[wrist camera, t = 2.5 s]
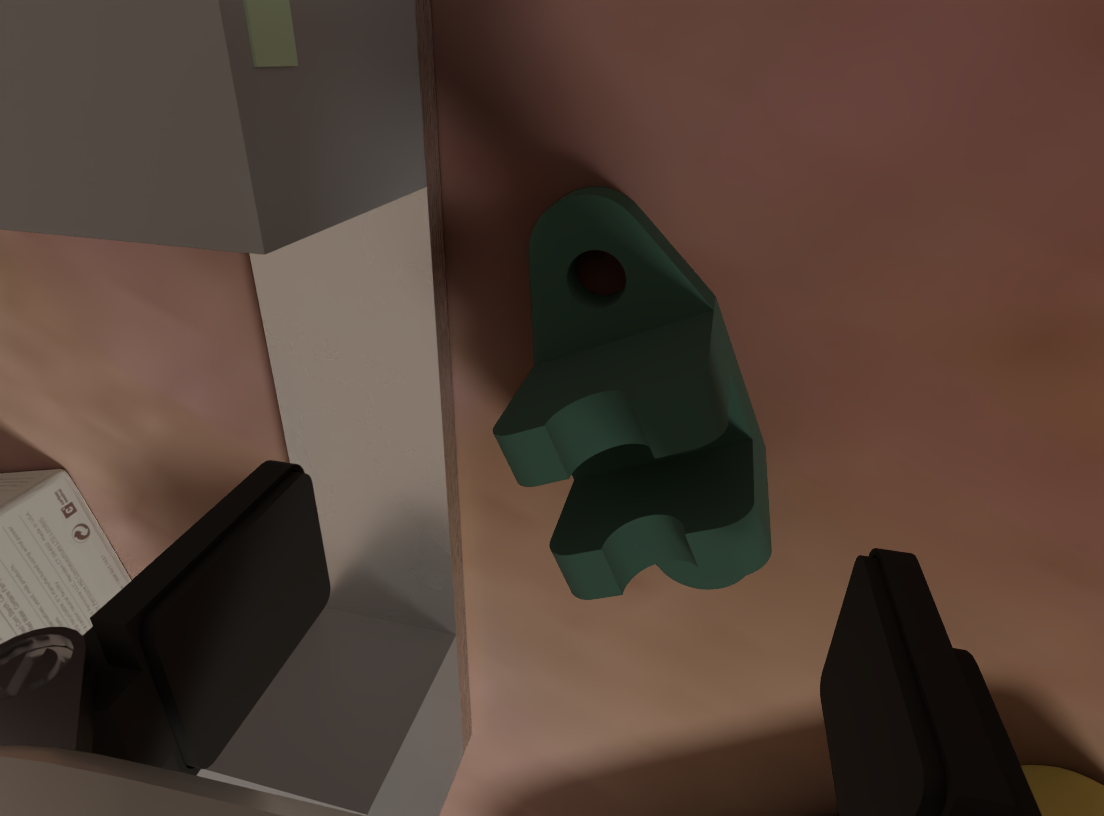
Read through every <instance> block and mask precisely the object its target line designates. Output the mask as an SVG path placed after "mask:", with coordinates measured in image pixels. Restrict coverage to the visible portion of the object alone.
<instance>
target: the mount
mask: <svg viewBox="0 0 1104 816" xmlns="http://www.w3.org/2000/svg"><path fill="white" fill-rule="evenodd" d="M590 250H600V251H605V252H607V253H609V254H611V255H613V256H614V257H615V258H616V259H617V260H618V261H619V262H620V263H621V265H622V266H623V268H624V271H625V275H626V286H625V288H623V289H622V290H621V291H619V292H618V293H615V294H612V295H598V294H595V293H592V292H591V291H589V290H588V289H586V288H585V287H584V286H583V285H582V283H581V282H580V280H579V278H578V275H577V271H576V262H577V258H578V255H580V254H581V253H583V252H586V251H590ZM529 271H530V289H531V307H532V325H533V343H534V361H535V366H534V367H533V369H532V370H531V372H530V373H529V375H528V376H527V378H526V379H525V381H524V382H523V384H522V385H521V387H520V388H519V390H518V391H517V393H516V394H515V396H514V397H513V399H512V400H511V402H510V403H509V405H508V406H507V408H506V409H505V411H504V412H503V414H502V415H501V417H500V418H499V420H498V421H497V423H496V424H495V426H494V428H493V433H494V435H495V437H496V439H497V441H498V443H499V445H500V448H501V450H502V452H503V454H504V456H505V458H506V460H507V462H508V464H509V466H510V468H511V470H512V472H513V474H514V476H515V478H516V480H517V482H518V484H519V485H521V486H525V487H533V486H539V485H543V484H548V483H552V482H556V481H561V480H565V479H569V478H570V476H571V474H572V476H573V478H574V482H573V485H572V487H571V490H570V492H569V495H568V497H567V500H566V502H565V505H564V508H563V510H562V513H561V515H560V518H559V520H558V523H557V525H556V528H555V530H554V533H553V535H552V538H551V541H550V549H551V551H552V553H553V555H554V557H555V559H556V561H557V563H558V565H559V567H560V569H561V572H562V574H563V576H564V578H565V580H566V582H567V584H568V586H569V588H570V590H571V592H572V594H573V595H574V596H575V597H577V598H579V599H584V600H591V599H598V598H605V597H611V596H618V595H623V591H624V589H625V587H626V585H627V584H628V583H629V581H630V580H631V579H632V578H633V577H634V576H635V575H636V574H638V573H639V572H640V571H642V570H644V569H645V568H647V567H649V566H651V565H654V564H656V565H657V566H658V567H659V568H660V569H661V570H662V571H663V572H664V573H665V574H666V575H667V576H669V577H670V578H672V579H673V580H675V581H677V582H678V583H681V584H683V585H686V586H689V587H692V588H697V589H719V588H724V587H727V586H730V585H732V584H735V583H736V582H738V581H740V580H741V579H742V578H744V577H745V576H746V575H749V574H751V573H753V572H755V571H757V570H759V569H760V568H761V567H763V566H764V565H765V564H766V563H767V561H768V560H769V558H770V556H771V551H772V549H771V532H770V516H769V499H768V482H767V465H766V448H765V445H764V442H763V438H762V435H761V432H760V429H759V426H758V423H757V420H756V417H755V414H754V411H753V408H752V405H751V402H750V399H749V396H748V393H747V390H746V387H745V384H744V381H743V378H742V375H741V372H740V369H739V366H738V363H737V360H736V357H735V354H734V351H733V348H732V345H731V342H730V339H729V336H728V333H727V330H726V327H725V323H724V320H723V317H722V314H721V311H720V308H719V305H718V302H717V299H716V296H715V295H714V294H713V293H712V291H711V290H710V289H709V288H708V287H707V286H706V284H705V283H704V282H703V281H702V280H701V279H700V277H699V276H698V275H697V274H696V273H695V272H694V270H693V269H692V268H691V267H690V266H689V265H688V263H687V262H686V261H685V260H684V259H683V258H682V256H681V255H680V254H679V253H678V252H677V251H676V249H675V248H674V247H673V246H672V245H671V244H670V242H669V241H668V240H667V239H666V238H665V237H664V235H663V234H662V233H661V232H660V231H659V230H658V228H657V227H656V226H655V225H654V224H653V223H652V221H651V220H650V219H649V218H648V217H647V216H646V214H645V213H644V212H643V211H642V210H641V209H640V207H639V206H638V205H637V204H636V203H635V202H634V201H632V200H631V199H630V198H629V197H627V196H626V195H624V194H622V193H620V192H618V191H616V190H613V189H609V188H605V187H585V188H581V189H577V190H575V191H572V192H570V193H568V194H567V195H565V196H564V197H562V198H561V199H560V200H558V201H557V202H556V203H555V204H553V205H552V206H551V207H550V208H548V209H547V210H546V211H545V212H544V213H543V214H542V216H541V217H540V218H539V220H538V221H537V223H536V225H535V227H534V229H533V231H532V234H531V238H530V242H529Z"/></svg>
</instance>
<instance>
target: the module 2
mask: <svg viewBox="0 0 1104 816" xmlns="http://www.w3.org/2000/svg"><path fill="white" fill-rule="evenodd" d="M463 755H464V749H463V734H462V719H461V704H460V688H459V673H458V658H457V642H456V635H453V634H448V633H444V632H439V631H434V630H430V629H425V628H420V627H416V626H411V625H406V624H402V623H397V622H392V621H388V620H383V619H378V618H374V617H369V616H364V615H360V614H355V613H350V612H346V611H341V610H336V609H332V608H327V607H325V608H324V609H323V611H322V612H321V613H320V615H319V616H318V618H317V619H316V620H315V622H314V623H313V625H312V626H311V627H310V629H309V630H308V632H307V633H306V634H305V636H304V637H303V639H302V640H301V641H300V643H299V644H298V646H297V647H296V648H295V650H294V651H293V653H292V654H291V655H290V657H289V658H288V660H287V661H286V662H285V664H284V665H283V667H282V668H281V669H280V671H279V672H278V674H277V675H276V676H275V678H274V679H273V681H272V682H271V684H270V685H269V686H268V688H267V689H266V691H265V692H264V693H263V695H262V696H261V698H260V699H259V700H258V702H257V703H256V705H255V706H254V707H253V709H252V710H251V712H250V713H249V714H248V716H247V717H246V719H245V720H244V721H243V723H242V724H241V726H240V727H239V728H238V730H237V731H236V733H235V734H234V735H233V737H232V738H231V740H230V741H229V742H228V744H227V745H226V747H225V748H224V749H223V751H222V752H221V754H220V755H219V756H218V758H217V759H216V761H215V762H214V763H213V764H212V765H211V766H210V767H208V768H206V769H201V770H200V771H199V773H198V774H197V776H200V777H204V778H208V779H212V780H216V781H221V782H225V783H229V784H233V785H238V786H242V787H246V788H250V789H254V790H259V791H263V792H267V793H271V794H275V795H280V796H284V797H288V798H292V799H297V800H301V801H305V802H309V803H313V804H318V805H322V806H326V807H330V808H334V809H339V810H343V811H347V812H351V813H355V814H359V815H363V816H439V815H440V812H441V810H442V807H443V805H444V802H445V800H446V797H447V795H448V792H449V790H450V787H451V785H452V782H453V780H454V777H455V775H456V772H457V770H458V767H459V765H460V762H461V760H462V757H463Z"/></svg>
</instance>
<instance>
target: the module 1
mask: <svg viewBox="0 0 1104 816" xmlns="http://www.w3.org/2000/svg"><path fill="white" fill-rule="evenodd" d="M425 187H427V183H426V168H425V152H424V137H423V122H422V106H421V91H420V76H419V60H418V45H417V30H416V14H415V0H0V229H1V230H12V231H22V232H33V233H43V234H54V235H64V236H74V237H85V238H95V239H106V240H116V241H127V242H137V243H148V244H158V245H168V246H179V247H189V248H200V249H210V250H221V251H231V252H242V253H252V254H262V255H265V254H268V253H270V252H273V251H275V250H277V249H280V248H282V247H284V246H287V245H289V244H292V243H294V242H296V241H299V240H301V239H304V238H306V237H308V236H311V235H313V234H315V233H318V232H320V231H323V230H325V229H327V228H330V227H332V226H335V225H337V224H339V223H342V222H344V221H347V220H349V219H351V218H354V217H356V216H358V215H361V214H363V213H366V212H368V211H370V210H373V209H375V208H378V207H380V206H382V205H385V204H387V203H390V202H392V201H394V200H397V199H399V198H401V197H404V196H406V195H409V194H411V193H413V192H416V191H418V190H421V189H423V188H425Z"/></svg>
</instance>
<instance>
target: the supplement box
mask: <svg viewBox="0 0 1104 816" xmlns="http://www.w3.org/2000/svg"><path fill="white" fill-rule="evenodd" d="M129 582H131V579H130V577H129V575H128V573H127V572H126V570H125V568H124V567H123V565H122V563H121V561H120V560H119V558H118V556H117V554H116V553H115V551H114V549H113V548H112V546H111V544H110V542H109V540H108V539H107V537H106V535H105V534H104V532H103V530H102V529H101V527H100V525H99V524H98V522H97V520H96V519H95V517H94V515H93V514H92V512H91V510H90V509H89V507H88V505H87V503H86V502H85V500H84V498H83V497H82V495H81V493H80V492H79V490H78V488H77V487H76V485H75V484H74V482H73V480H72V479H71V477H70V476H69V474H68V473H67V472H66V471H65V470H63V469H53V470H39V471H25V472H13V473H0V644H2V643H4V642H5V641H7V640H9V639H11V638H13V637H15V636H18V635H21V634H23V633H26V632H29V631H32V630H36V629H41V628H46V627H67V628H71V629H74V630H77V631H78V632H79V633H80V634H81V635H82V636H83V635H84V634H85V633H86V632H87V631H88V630H89V629H90V628H91V627H93V625H92V623H91V620H90V617H91V616H93V615H94V614H95V613H96V612H97V611H98V610H99V609H100V608H101V607H103V606H104V605H105V604H106V603H107V602H108V601H109V600H110V599H112V598H113V597H114V596H115V595H116V594H117V593H118V592H119V591H120V590H122V589H123V588H124V587H125V586H126V585H127V584H128V583H129Z"/></svg>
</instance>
